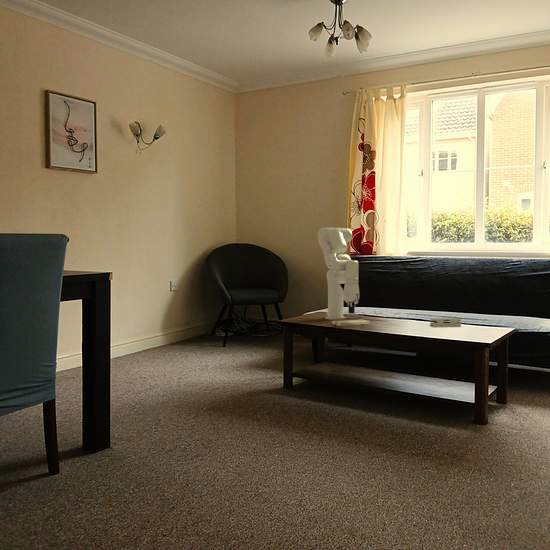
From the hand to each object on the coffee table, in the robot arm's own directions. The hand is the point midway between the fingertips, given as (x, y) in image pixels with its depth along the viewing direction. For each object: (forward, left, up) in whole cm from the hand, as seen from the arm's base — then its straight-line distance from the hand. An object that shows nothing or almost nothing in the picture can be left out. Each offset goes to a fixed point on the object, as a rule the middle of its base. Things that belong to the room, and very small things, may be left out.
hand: (351, 313), depth 326 cm
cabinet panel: (0, 0, -7) cm, 7 cm away
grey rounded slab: (+33, +43, -4) cm, 54 cm away
